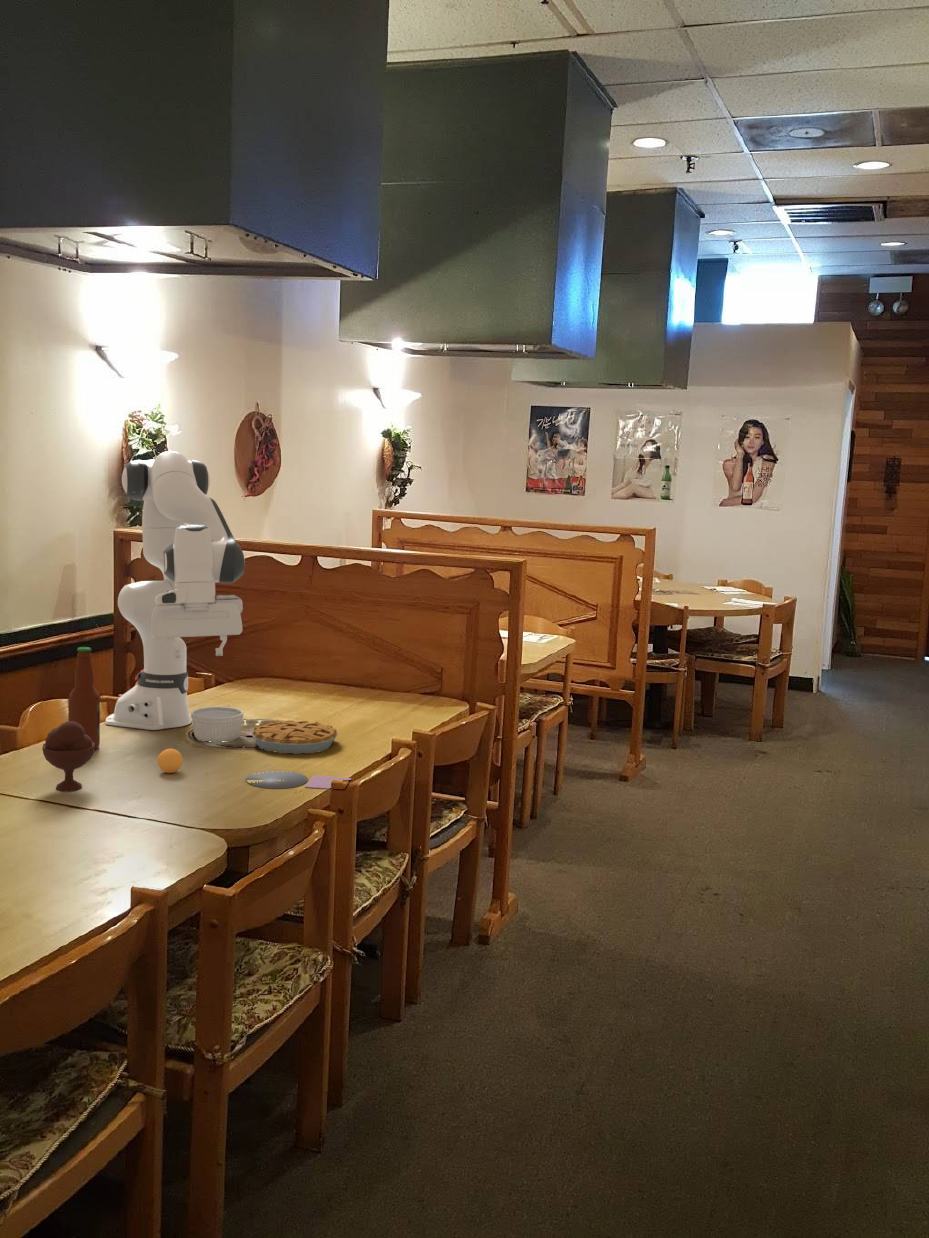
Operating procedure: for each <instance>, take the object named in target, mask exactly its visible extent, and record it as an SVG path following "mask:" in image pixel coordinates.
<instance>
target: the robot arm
mask: <svg viewBox="0 0 929 1238" xmlns="http://www.w3.org/2000/svg"><path fill="white" fill-rule="evenodd" d="M121 484H122V488H123V490H124V493H125V495H126V497H128V498H129V499H130V500H133V501H137V502H138V501H139V502H142V501H143V505H142V520H141V521H142V522H141V524H142V525H141V528H142V530H141V531H142V533H141V534H142V553H143V556H144V559H145V560H146V561H147V562H148V563H149V564H151V565H152V566H154V567H156V568H158V569H159V570H160V571H161V573H162V575H163V576H162V577H163V580H141V581H136V582H132V583H129V584H125V585H124V586H123V587H122V588H121V590H120V592H119V594H118V597H117V607H118V609H119V612H120V614H121V616H122V617H123V618H124V619H125V620H126V621H128V622H130V623H131V624H132V625H133V626H134V627H135V629H136V630H137V631H138V634H139V636H140V638H141V641H142V646H143V665H144V666H143V669H141V670H140V672H138V673H137V675H135V676H134V677H135V681H136V682H137V684H136V685H134V686H133V687H132V688H130V689H129V690H127V691H126V692H124V693H123V694H122V695H120V696H119V698H118V699H117V700H116V702H115V707H114V711H113V713H111V714H109V715H108V716H107V717H106V718H105V722H104V723H105V725H107V726H108V725H109V726H116V727H124V728H125V727H126V728H132V729H133V728H134V729H141V730H150V731H157V730H164V729H172V728H179V727H185V726H188V725H190V724H191V723H193V720H192V718H191V714H190V710H189V709H190V708H189V704H188V693H187V692H188V689H189V673H188V672H189V671H187V645H186V643H185V641H184V640H183V639H182V638H190V637H191V638H192V637H193V638H195V637H196V638H197V637H215V636H216V637H217V636H218V637H219V639H220V641H222V642H221V643H220V645H219V647H216V648H215V656H216V657H221V656H223V657H224V655H223V654H224V653H223V651H224V650H223V649H224V647H225V645H226V643H227V641H228V636H237V635H238V636H239V635H241V633H242V632H243V622H242V616H241V614H242V613H243V610H244V607H243V602H244V601H243V599H242V598H240V597H239V596H236V594H227V595H226V594H216V583H219V584H231V585H232V584H234V583H235V582H237V580H239V579H240V578H241V577H242V576H243V575H244V573H245V567H246V561H245V559H246V558H245V555H244V552H243V549H242V547H241V546H240V545H239V543H238V542H237V541H236V539H235V537H234V535H233V533H232V531H231V529H230V527H229V525H228V522H227V520H226V519H225V517H224V515H223V512H222V511H221V509H220V507H219V505H218V503H217V502H216V501H215V499H213V498H211V497H210V496H208V495H207V494H208V492H209V488H210V485H211V477H210V473H209V471H208V467H207V465H206V464H204V462H202V461H199V460H197V459H196V460H194V459H190V460H188V459H187V457H186V456H185V455H183V454H182V453H180V452H178V451H175V450H168V451H163V452H161V453H159V454H158V455H157V456H156V457H155V458H153V459H147V460H142V459H136V460H135V459H134V460H131V461H129V462H127V464H125V466H124V469H123V472H122V474H121Z"/></svg>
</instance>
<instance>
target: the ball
mask: <svg viewBox="0 0 929 1238" xmlns="http://www.w3.org/2000/svg"><path fill="white" fill-rule="evenodd" d="M183 761H184V760H183V756H182V753H181V752H180V751H179V750H177V749H176V748H175V749H174V748H167V749H164V750H162V751H161V752H160V753H159V755H158V757H157V765H158V768H159V769H160V770H161V771H162V772H164V773H167V774H172V773H176V772H178V771H179V770H180V769H181V767H182V765H183Z"/></svg>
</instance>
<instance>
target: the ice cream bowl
mask: <svg viewBox="0 0 929 1238" xmlns="http://www.w3.org/2000/svg"><path fill="white" fill-rule="evenodd" d="M94 747H95V743H94V742H93V741H92V739H91V737H89V736H88V735H86V734H84V728H83V727H82V726H81V725H80V724H79V723H77V722H74V721H65V722H63V723H60V725H59V726H58V727H57V726H56V727H55V728H53V729H51V731H49V732H48V733H47V737H46V738H45V742H44V743H43V745H42V748H41V749H42V753H43V757H44V758H45V760H46V761H47V762H48V763H49V764H50V765H52V766H53V767H55V768H56V769H60V770H63V772H64V780H62V781H61V782H59V783H58V784H56V786H55V790H56V791H60V792H75V791H78V790H81V789H82V788H83V785H82V783H81V782H79V781H77V780H75V779H74V771H75V770H76V769H79V768H81V767H83V766H84V765H86V764H87V763H88V762H89V761H90V760H91V759H92V757H93V755H94V752H95V749H94Z"/></svg>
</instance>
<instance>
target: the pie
mask: <svg viewBox="0 0 929 1238" xmlns="http://www.w3.org/2000/svg"><path fill="white" fill-rule="evenodd" d="M250 734H251V736H252V738H253V739H254V740H255V742H256V745H257V747H258V746H259V747H258V748H259V749H260V748H261V750H263V749H264V750H263V751H266V752H270V751H276V752H281V753H280V754H283V753H295V754H294V755H301V754H300V753H312V754H314V753H313V752H317V753H319V752H318V751H321V752H323V751H326V750H328V749H329V748H330V747H331V745H332V744H333V742H334V740H336V738H337V736H338V731H337V730H336V728H333V726H332V725H330V724H322V723H320V722H318V721H315V722H309V721H308V720H301V721H294V720H285V721H279V720H275V721H271V722H270V723H268V722H263V723H261V724H260V726H255V727H254V729H253V731H252V733H250ZM276 752H275V753H276ZM298 753H299V754H298Z"/></svg>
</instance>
